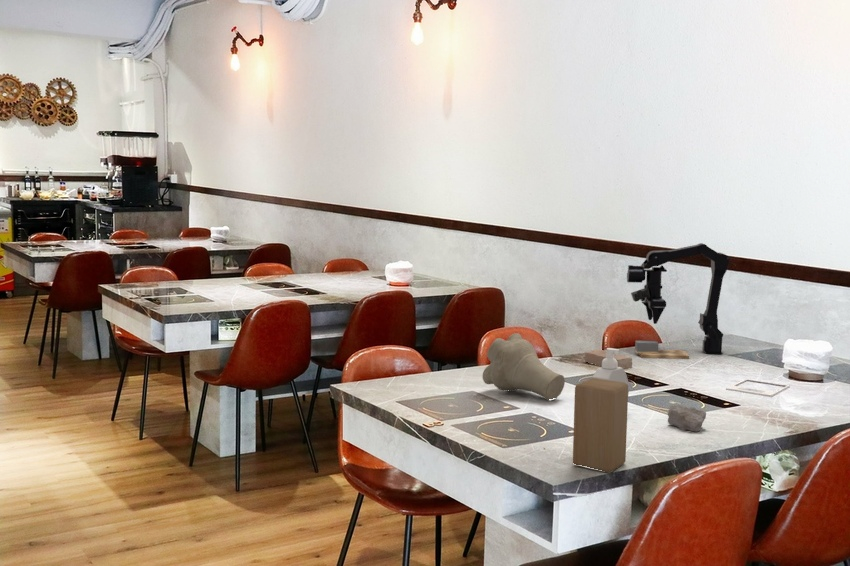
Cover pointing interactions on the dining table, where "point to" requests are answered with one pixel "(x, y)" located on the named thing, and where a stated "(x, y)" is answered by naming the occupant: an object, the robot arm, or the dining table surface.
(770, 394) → the photo frame
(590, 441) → the wooden block
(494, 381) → the vase
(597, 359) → the brick
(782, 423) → the dining table surface
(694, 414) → the stone
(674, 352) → the oak board
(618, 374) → the soap bottle
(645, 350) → the block
